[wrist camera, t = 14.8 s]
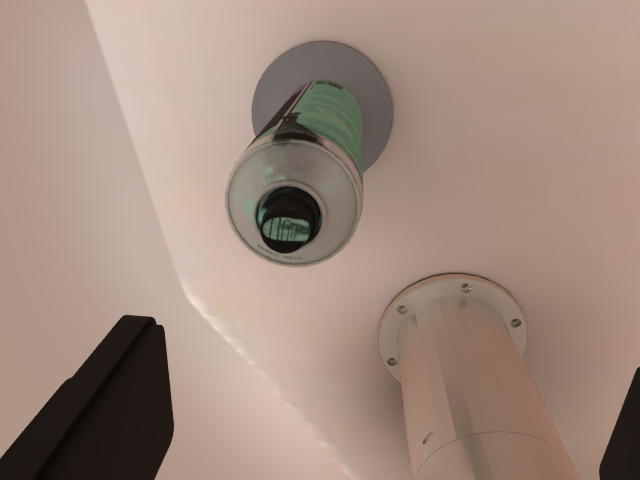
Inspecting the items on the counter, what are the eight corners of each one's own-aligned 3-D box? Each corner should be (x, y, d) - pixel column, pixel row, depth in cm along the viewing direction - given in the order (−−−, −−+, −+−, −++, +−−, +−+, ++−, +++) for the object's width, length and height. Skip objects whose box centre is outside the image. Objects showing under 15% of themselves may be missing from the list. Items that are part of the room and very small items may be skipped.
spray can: (272, 96, 35) (175, 188, 16) (345, 65, 33) (327, 128, 15) (303, 167, 37) (246, 318, 18) (372, 140, 35) (386, 274, 17)
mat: (380, 185, 38) (381, 191, 37) (253, 171, 39) (249, 177, 37) (401, 48, 34) (403, 50, 33) (258, 33, 34) (254, 34, 33)
